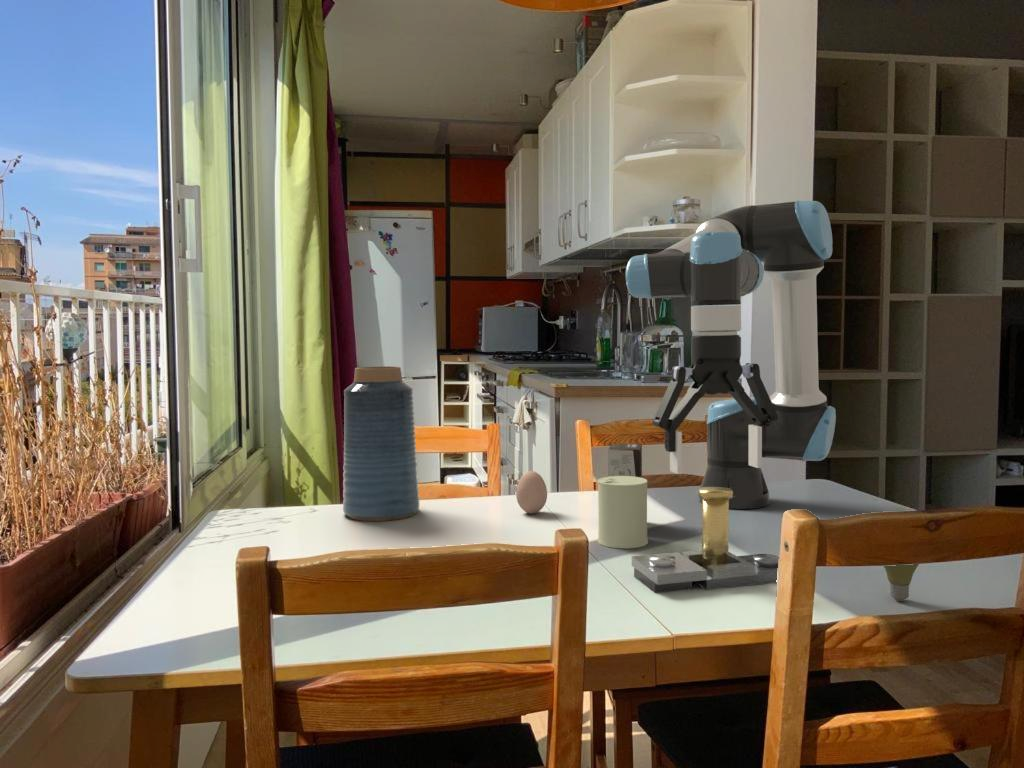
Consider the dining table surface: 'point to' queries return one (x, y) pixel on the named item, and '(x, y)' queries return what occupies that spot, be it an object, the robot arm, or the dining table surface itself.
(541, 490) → the egg
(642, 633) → the dining table surface
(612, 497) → the can
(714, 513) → the pin
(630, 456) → the coffee box
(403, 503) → the vase
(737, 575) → the link plates
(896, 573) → the light bulb
